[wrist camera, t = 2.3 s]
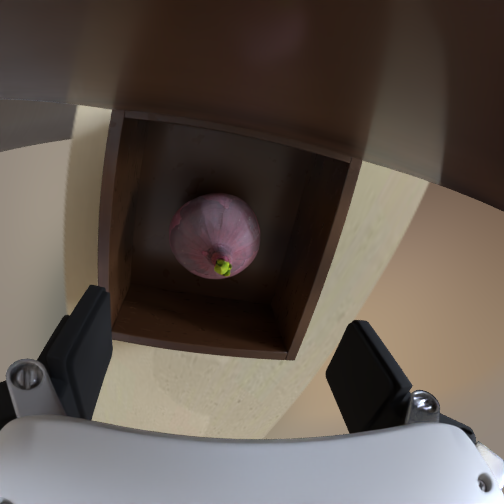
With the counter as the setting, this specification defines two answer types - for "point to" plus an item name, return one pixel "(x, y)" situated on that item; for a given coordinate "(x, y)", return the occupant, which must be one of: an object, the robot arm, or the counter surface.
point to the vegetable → (215, 235)
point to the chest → (201, 183)
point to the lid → (285, 73)
